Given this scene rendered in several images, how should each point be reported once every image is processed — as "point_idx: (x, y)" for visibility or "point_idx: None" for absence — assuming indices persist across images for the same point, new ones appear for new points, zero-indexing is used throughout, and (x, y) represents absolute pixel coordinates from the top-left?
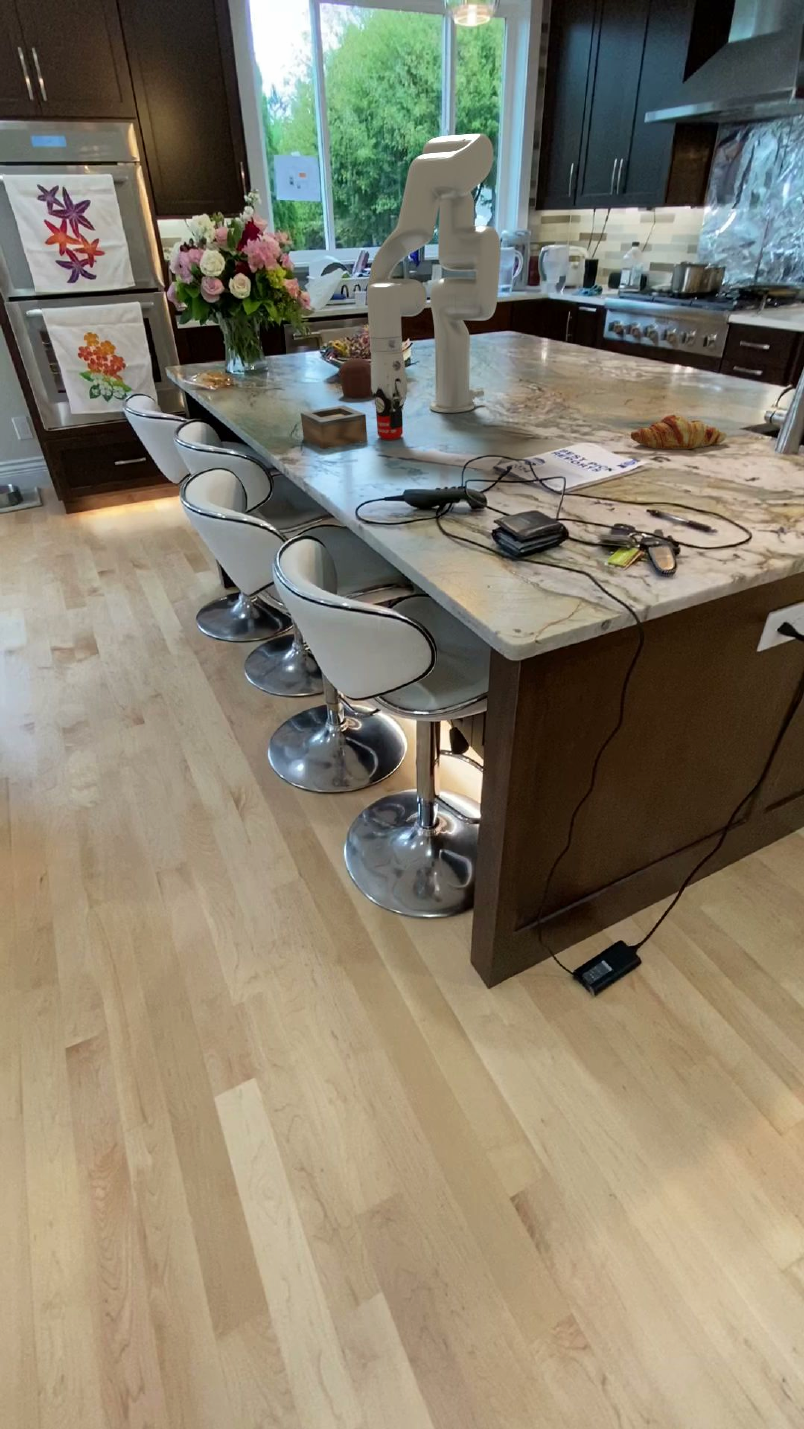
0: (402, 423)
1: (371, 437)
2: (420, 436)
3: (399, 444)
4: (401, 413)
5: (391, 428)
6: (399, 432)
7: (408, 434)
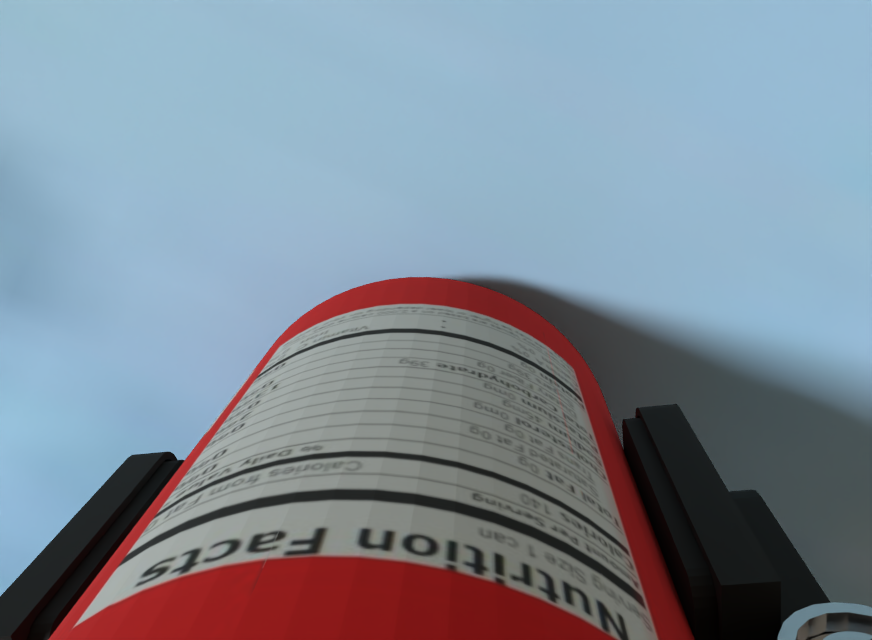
0: (685, 423)
1: None
2: (617, 18)
3: (813, 455)
4: (745, 544)
5: None
6: (602, 397)
7: (403, 142)
